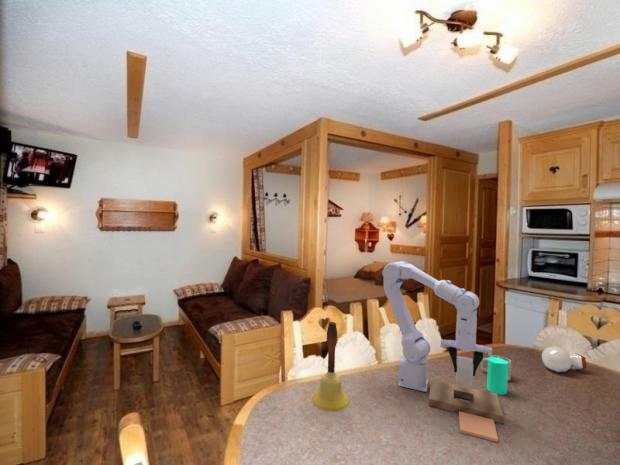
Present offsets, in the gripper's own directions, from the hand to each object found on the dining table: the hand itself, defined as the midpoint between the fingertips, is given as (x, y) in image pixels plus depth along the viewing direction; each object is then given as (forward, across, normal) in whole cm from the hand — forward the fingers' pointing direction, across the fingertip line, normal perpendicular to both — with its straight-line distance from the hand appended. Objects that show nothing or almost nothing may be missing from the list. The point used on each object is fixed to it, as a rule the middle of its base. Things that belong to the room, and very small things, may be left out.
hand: (464, 372), depth 98 cm
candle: (+10, +11, +14) cm, 20 cm away
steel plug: (+4, 0, 0) cm, 4 cm away
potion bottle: (+10, +37, +43) cm, 58 cm away
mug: (+10, +12, +26) cm, 30 cm away
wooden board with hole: (+10, 0, 0) cm, 10 cm away
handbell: (+10, -39, -17) cm, 44 cm away
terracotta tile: (+10, +3, -12) cm, 15 cm away
